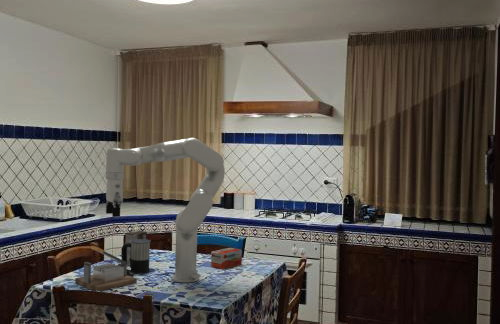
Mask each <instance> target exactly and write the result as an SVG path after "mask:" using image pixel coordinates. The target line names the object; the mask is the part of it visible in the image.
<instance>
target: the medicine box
mask: <svg viewBox="0 0 500 324" xmlns="http://www.w3.org/2000/svg"><path fill="white" fill-rule="evenodd" d="M210 256H211V257H210V266H211V268H213V269H219V270H226V269H229V268H233V267H237V266H241V265H242V262H243V260H242V259H243V251H242V249H239V248H233V247H228V248H227V247H226V248H222V249H219V250H213V251H211V253H210Z"/></svg>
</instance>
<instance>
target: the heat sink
mask: <svg viewBox="0 0 500 324" xmlns="http://www.w3.org/2000/svg"><path fill="white" fill-rule="evenodd" d="M127 269H128V265H127V264H123V263H120V262H118V263H117V264H115V263H112V262H109V263H105V264H104V263H103V264H98V265H93V266H92V263H91V262H88V261H84V262H83V277H84V282H86V283H91V275H93V278H95V279H98V280H100V281H103V282H109V281H114V280H119V279H124V276H127ZM91 273H92V274H91Z"/></svg>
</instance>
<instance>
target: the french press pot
mask: <svg viewBox="0 0 500 324" xmlns="http://www.w3.org/2000/svg"><path fill="white" fill-rule="evenodd" d="M147 238H148V232H146V231H143V230H136V231H135V230H134V231H128V232H125V243H124V244H126V243H132V242H131V240H135V239H147ZM147 240H148V239H147ZM130 254H131V247H127V266H130Z"/></svg>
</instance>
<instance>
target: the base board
mask: <svg viewBox="0 0 500 324" xmlns="http://www.w3.org/2000/svg"><path fill="white" fill-rule="evenodd" d="M74 279H75V280H74V281H75V282H74V283H75V284H78V285H80V286H82V287H84V288H86V289H89V290H91V289H92V291H94V290H97V291H99V292H102V291H107V290H112V289H111V288H113V289H116V287H117V288H121V286H122V287H125V286H126V287H127V286H130V285H135V284H137V281H138V279H137V278H136V277H133V276H124V279H119V280H114V281H109V282H103V281H100V280H98V279H95V278H93V274H91V283H86V282H84V276H80V277H75V278H74Z"/></svg>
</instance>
